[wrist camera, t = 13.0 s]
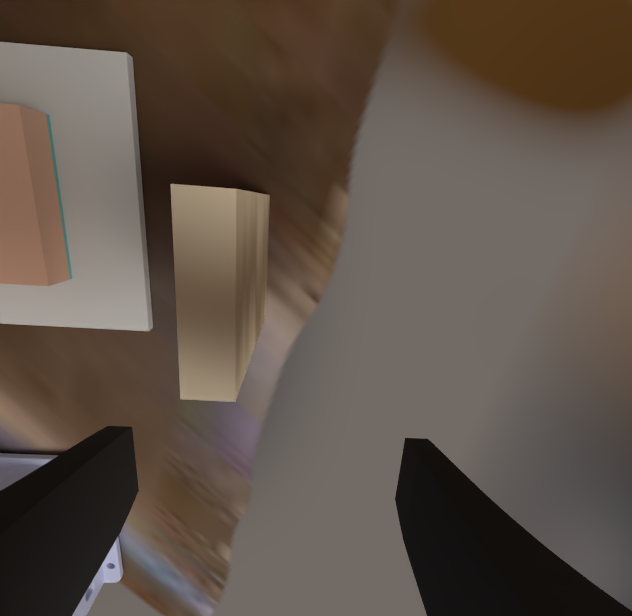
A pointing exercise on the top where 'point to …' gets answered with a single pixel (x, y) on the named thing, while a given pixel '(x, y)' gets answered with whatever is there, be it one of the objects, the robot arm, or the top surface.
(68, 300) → the mat
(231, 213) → the beige upright block
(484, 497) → the robot arm
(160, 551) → the top surface
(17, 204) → the tile
